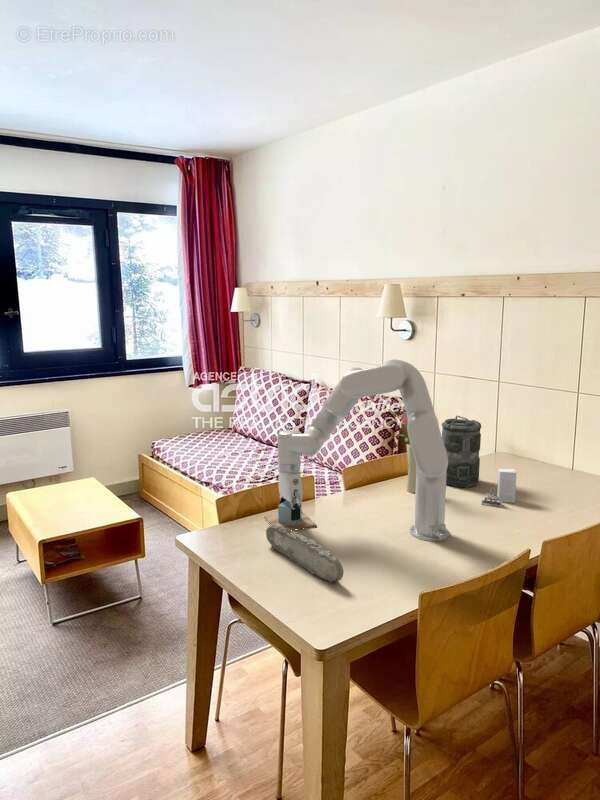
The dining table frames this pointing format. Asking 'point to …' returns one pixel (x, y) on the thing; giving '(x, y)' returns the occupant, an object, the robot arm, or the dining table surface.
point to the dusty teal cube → (287, 513)
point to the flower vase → (410, 463)
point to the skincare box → (506, 485)
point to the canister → (462, 451)
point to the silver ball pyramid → (491, 503)
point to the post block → (303, 523)
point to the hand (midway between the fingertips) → (290, 515)
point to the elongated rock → (305, 553)
